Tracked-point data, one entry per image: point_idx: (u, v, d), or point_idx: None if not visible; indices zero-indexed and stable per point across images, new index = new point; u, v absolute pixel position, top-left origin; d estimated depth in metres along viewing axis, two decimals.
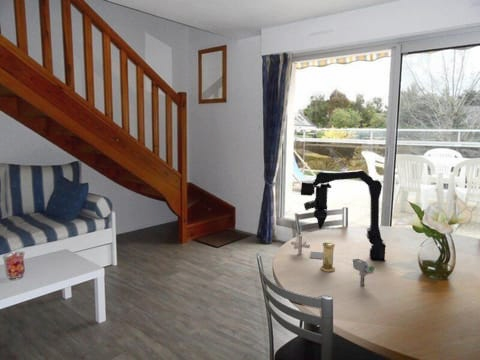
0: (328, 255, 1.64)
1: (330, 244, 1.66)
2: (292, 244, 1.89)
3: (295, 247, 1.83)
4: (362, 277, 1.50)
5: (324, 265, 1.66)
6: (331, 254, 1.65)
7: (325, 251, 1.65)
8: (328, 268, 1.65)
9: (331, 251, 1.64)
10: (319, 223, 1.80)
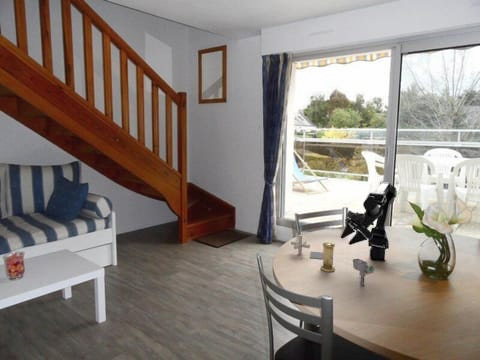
0: (328, 255, 1.64)
1: (330, 244, 1.66)
2: (292, 244, 1.88)
3: (295, 247, 1.83)
4: (362, 277, 1.50)
5: (324, 265, 1.66)
6: (331, 254, 1.65)
7: (325, 251, 1.65)
8: (328, 268, 1.65)
9: (331, 251, 1.64)
10: (353, 239, 1.61)
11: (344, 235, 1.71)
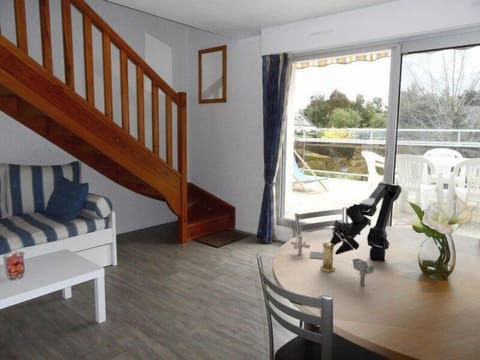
0: (328, 255, 1.64)
1: (330, 244, 1.66)
2: (292, 244, 1.88)
3: (295, 247, 1.83)
4: (362, 277, 1.50)
5: (324, 265, 1.66)
6: (331, 254, 1.65)
7: (325, 251, 1.65)
8: (328, 268, 1.65)
9: (331, 251, 1.64)
10: (340, 249, 1.61)
11: None
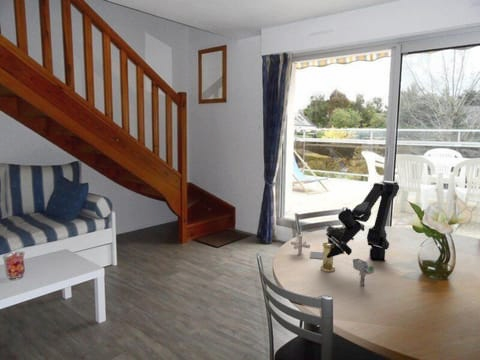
0: None
1: (330, 244, 1.66)
2: (292, 244, 1.88)
3: (295, 247, 1.83)
4: (362, 277, 1.50)
5: (324, 265, 1.66)
6: None
7: (325, 251, 1.65)
8: (328, 268, 1.65)
9: None
10: (331, 253, 1.63)
11: None
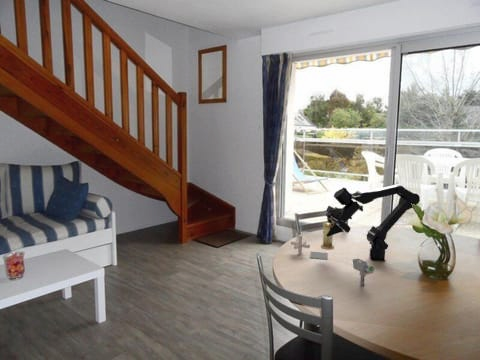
0: None
1: (330, 223, 1.75)
2: (292, 244, 1.89)
3: (295, 247, 1.83)
4: (362, 277, 1.50)
5: (324, 243, 1.75)
6: None
7: (325, 230, 1.74)
8: (328, 246, 1.75)
9: None
10: (330, 231, 1.72)
11: None
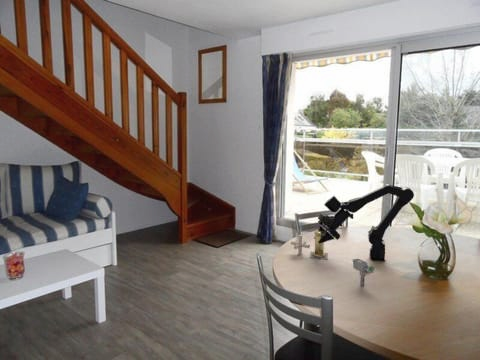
0: None
1: (321, 232, 1.83)
2: (292, 244, 1.89)
3: (295, 247, 1.83)
4: (362, 277, 1.50)
5: (316, 251, 1.83)
6: None
7: (316, 238, 1.82)
8: (319, 254, 1.83)
9: None
10: (322, 239, 1.79)
11: None
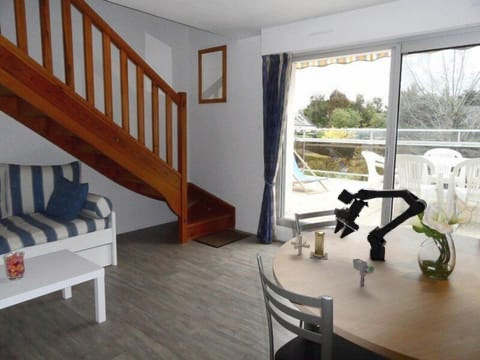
0: (319, 242, 1.82)
1: (321, 232, 1.83)
2: (292, 244, 1.88)
3: (295, 247, 1.83)
4: (362, 277, 1.50)
5: (316, 251, 1.83)
6: (322, 241, 1.82)
7: (316, 238, 1.82)
8: (319, 254, 1.83)
9: (322, 239, 1.82)
10: (343, 233, 1.79)
11: (336, 230, 1.89)
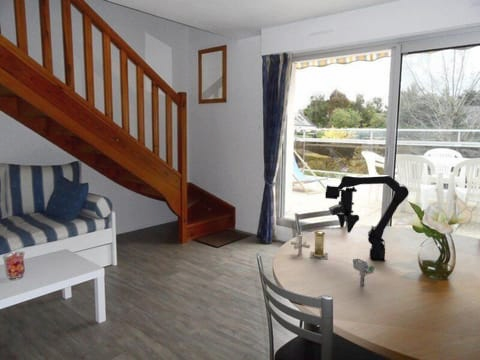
0: (319, 242, 1.82)
1: (321, 232, 1.83)
2: (292, 244, 1.88)
3: (295, 247, 1.83)
4: (362, 277, 1.50)
5: (316, 251, 1.83)
6: (322, 241, 1.82)
7: (316, 238, 1.82)
8: (319, 254, 1.83)
9: (322, 239, 1.82)
10: (348, 227, 1.79)
11: (341, 224, 1.89)
